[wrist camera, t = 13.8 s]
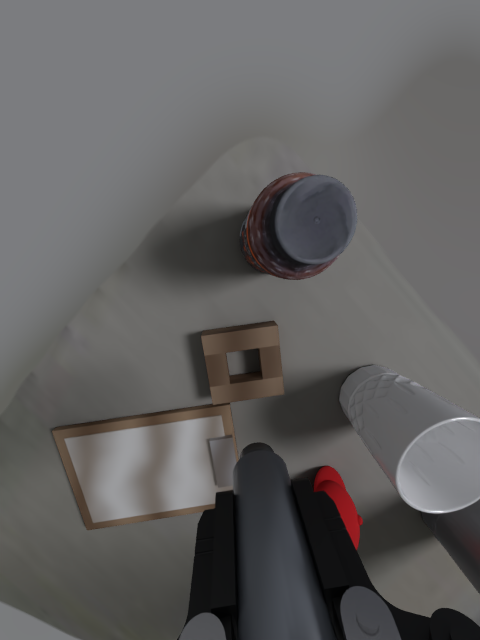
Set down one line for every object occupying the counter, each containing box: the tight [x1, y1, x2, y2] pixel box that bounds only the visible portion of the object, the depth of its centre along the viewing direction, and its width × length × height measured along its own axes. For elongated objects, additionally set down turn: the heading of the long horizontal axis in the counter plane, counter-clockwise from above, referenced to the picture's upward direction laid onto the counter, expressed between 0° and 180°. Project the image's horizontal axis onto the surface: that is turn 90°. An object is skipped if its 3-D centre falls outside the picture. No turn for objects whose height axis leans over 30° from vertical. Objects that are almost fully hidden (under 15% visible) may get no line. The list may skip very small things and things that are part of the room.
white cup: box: [339, 365, 480, 514], centre depth 22 cm, size 8×8×10 cm
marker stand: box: [201, 321, 284, 405], centre depth 24 cm, size 7×7×2 cm
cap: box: [314, 466, 363, 550], centre depth 27 cm, size 8×6×6 cm
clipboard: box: [52, 402, 238, 530], centre depth 26 cm, size 18×13×1 cm
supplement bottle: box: [240, 172, 357, 280], centre depth 17 cm, size 6×6×11 cm
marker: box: [233, 443, 337, 640], centre depth 8 cm, size 3×3×9 cm
